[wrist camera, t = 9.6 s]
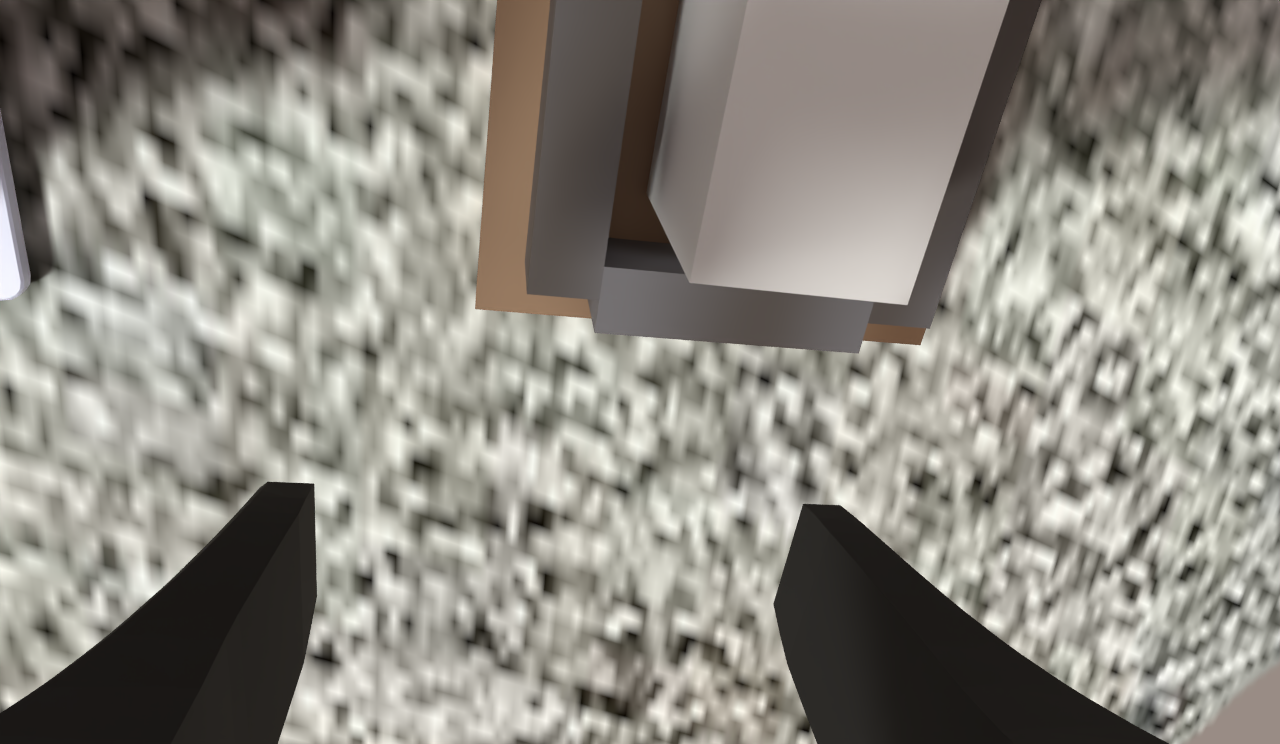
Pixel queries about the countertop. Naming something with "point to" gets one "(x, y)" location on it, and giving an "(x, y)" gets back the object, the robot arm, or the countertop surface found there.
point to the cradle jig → (618, 178)
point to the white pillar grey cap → (815, 138)
